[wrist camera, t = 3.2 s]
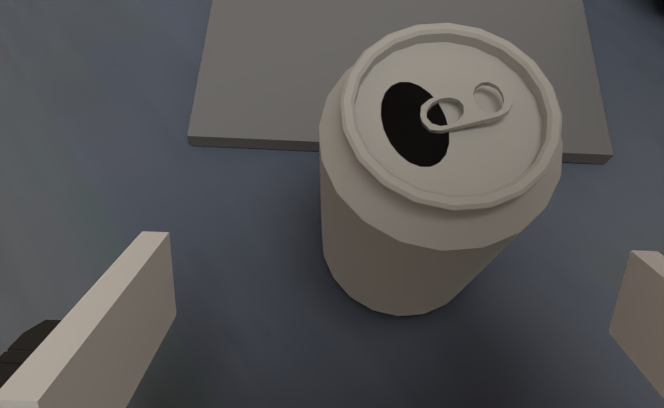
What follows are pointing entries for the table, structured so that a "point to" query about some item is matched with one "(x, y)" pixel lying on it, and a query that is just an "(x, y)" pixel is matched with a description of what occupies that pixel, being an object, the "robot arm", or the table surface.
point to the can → (433, 163)
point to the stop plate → (347, 46)
